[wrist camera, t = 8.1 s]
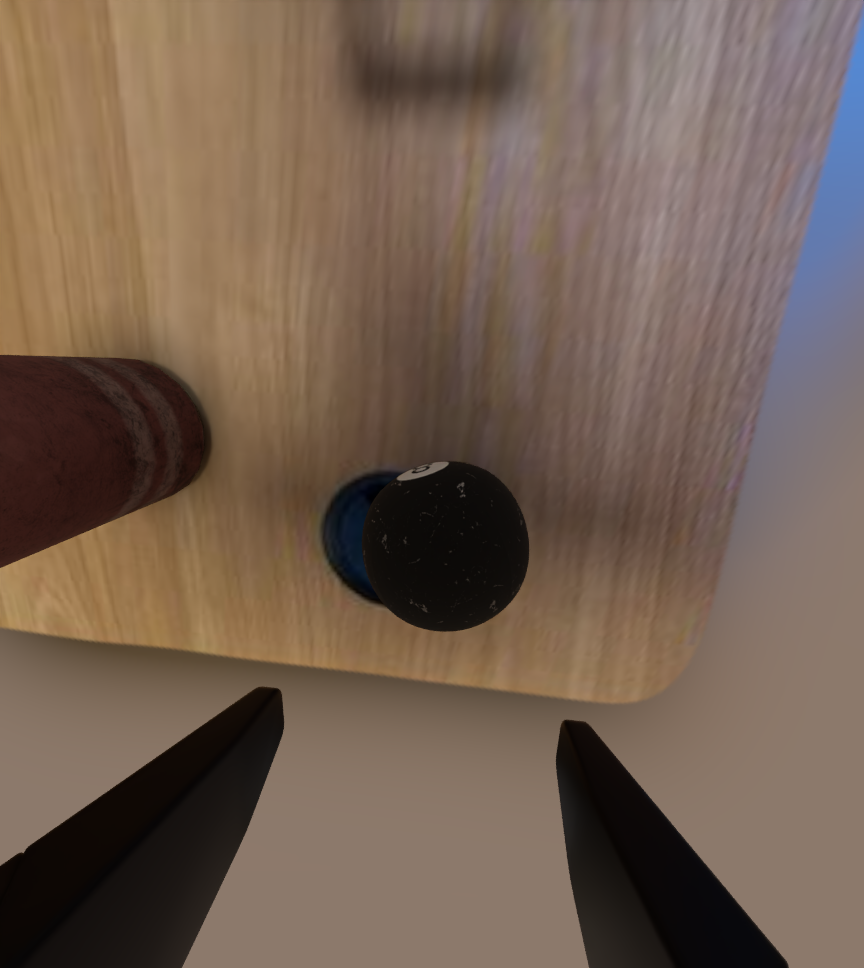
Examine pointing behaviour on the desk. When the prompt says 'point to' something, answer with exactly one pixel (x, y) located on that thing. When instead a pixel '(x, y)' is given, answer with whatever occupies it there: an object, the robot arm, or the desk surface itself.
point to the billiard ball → (445, 546)
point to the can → (87, 445)
